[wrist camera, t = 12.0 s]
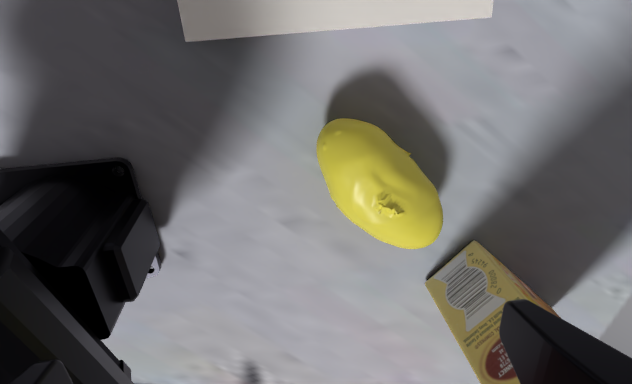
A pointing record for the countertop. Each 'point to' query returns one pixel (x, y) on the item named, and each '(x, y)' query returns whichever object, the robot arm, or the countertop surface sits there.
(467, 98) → the countertop surface
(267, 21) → the collar plate
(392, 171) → the yellow elongated oval piece
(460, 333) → the candy box
